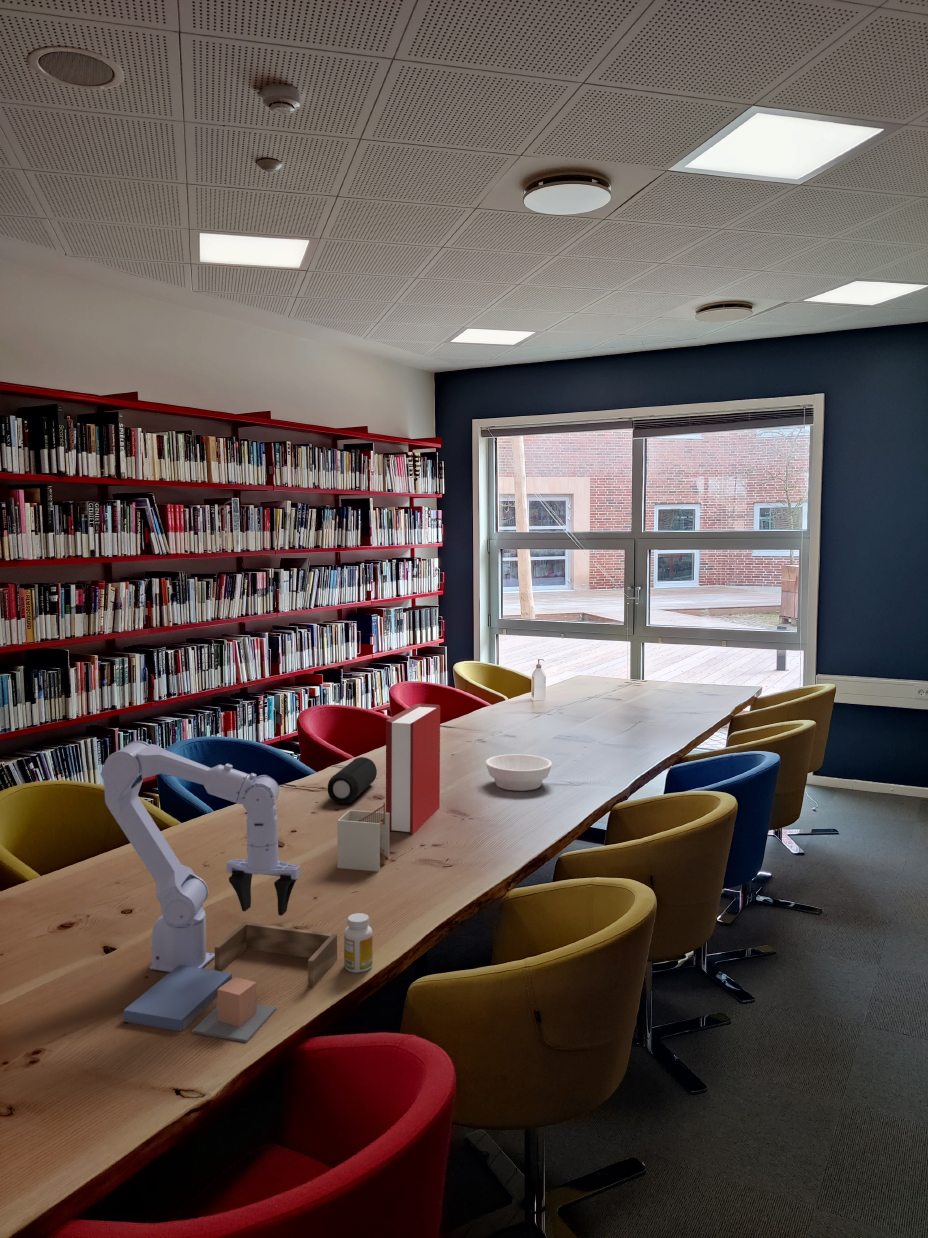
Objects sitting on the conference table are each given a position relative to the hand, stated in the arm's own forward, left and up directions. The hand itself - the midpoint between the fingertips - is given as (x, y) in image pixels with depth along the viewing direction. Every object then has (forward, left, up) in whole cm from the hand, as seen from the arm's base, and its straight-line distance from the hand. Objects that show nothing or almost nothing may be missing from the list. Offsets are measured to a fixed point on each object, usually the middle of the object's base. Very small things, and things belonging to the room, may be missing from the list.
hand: (264, 911), depth 160 cm
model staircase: (-1, +54, -11) cm, 55 cm away
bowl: (+24, +134, -11) cm, 136 cm away
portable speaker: (-26, +109, -11) cm, 112 cm away
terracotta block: (+5, -19, -10) cm, 22 cm away
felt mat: (+5, -19, -10) cm, 22 cm away
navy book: (-8, -16, -11) cm, 21 cm away
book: (+1, +91, -11) cm, 91 cm away
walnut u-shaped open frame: (+3, 0, -10) cm, 11 cm away
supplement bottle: (+18, +4, -11) cm, 21 cm away
